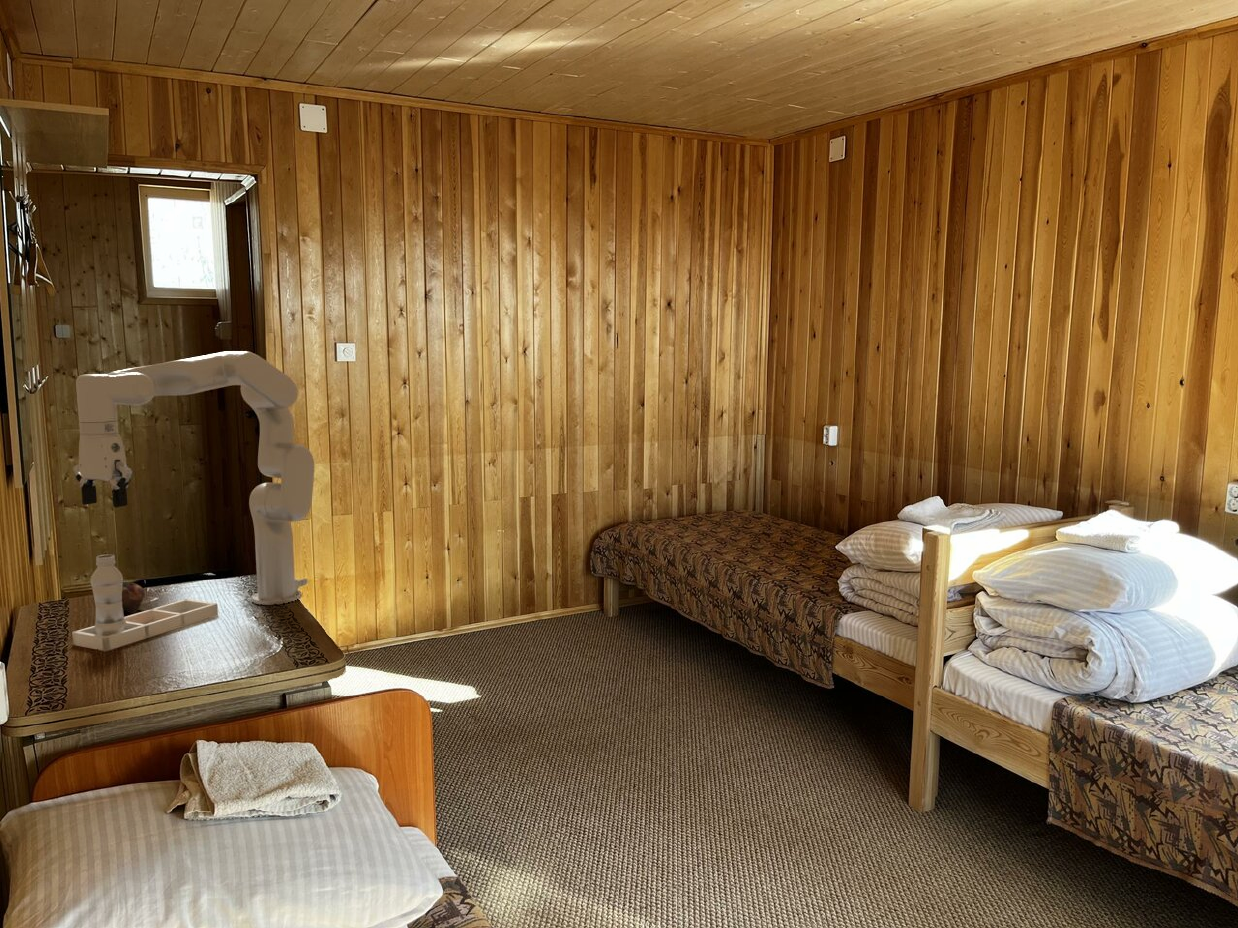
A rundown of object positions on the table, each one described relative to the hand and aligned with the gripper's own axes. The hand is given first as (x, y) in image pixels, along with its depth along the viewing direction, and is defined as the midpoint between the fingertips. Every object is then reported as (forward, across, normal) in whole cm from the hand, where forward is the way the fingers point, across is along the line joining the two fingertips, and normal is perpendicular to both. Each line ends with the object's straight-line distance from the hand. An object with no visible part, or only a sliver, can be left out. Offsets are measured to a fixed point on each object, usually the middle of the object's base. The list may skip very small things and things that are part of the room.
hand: (104, 505), depth 209 cm
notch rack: (+32, +1, -10) cm, 34 cm away
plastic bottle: (+32, +2, 0) cm, 32 cm away
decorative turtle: (+32, +20, -19) cm, 42 cm away
